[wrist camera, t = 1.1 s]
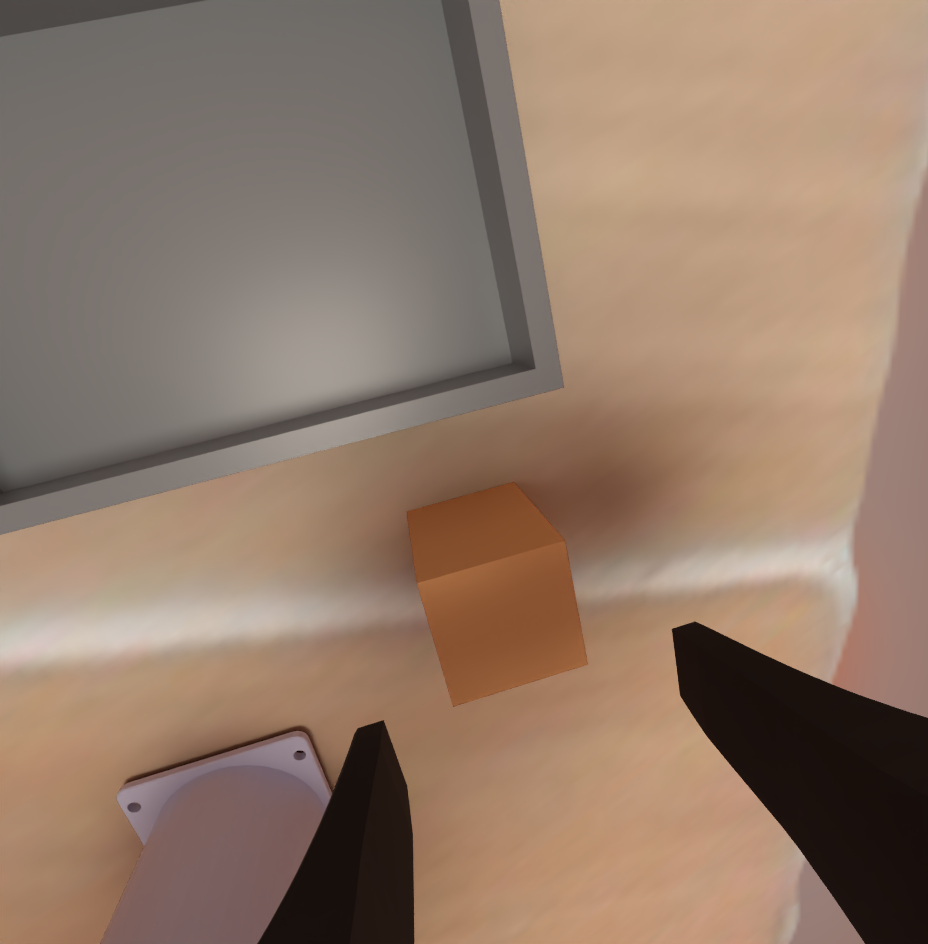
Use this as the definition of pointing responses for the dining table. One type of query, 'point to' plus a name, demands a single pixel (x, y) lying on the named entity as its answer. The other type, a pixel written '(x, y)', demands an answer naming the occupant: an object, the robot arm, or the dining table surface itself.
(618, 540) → the dining table surface
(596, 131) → the dining table surface
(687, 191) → the dining table surface
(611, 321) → the dining table surface
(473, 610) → the orange block
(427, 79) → the serving tray
